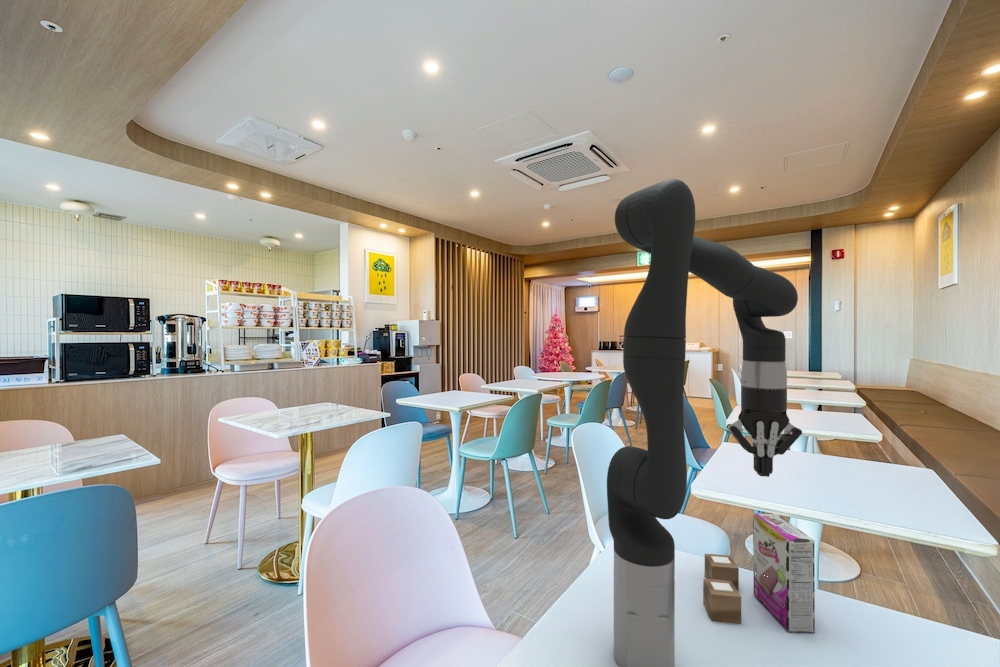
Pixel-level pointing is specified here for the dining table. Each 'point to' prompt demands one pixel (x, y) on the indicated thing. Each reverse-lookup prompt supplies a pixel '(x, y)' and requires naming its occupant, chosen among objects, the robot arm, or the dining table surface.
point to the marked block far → (721, 568)
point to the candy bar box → (784, 572)
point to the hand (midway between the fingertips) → (763, 475)
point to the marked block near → (722, 601)
